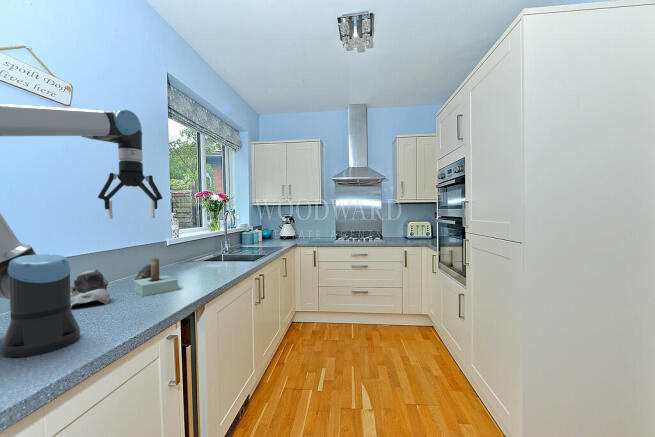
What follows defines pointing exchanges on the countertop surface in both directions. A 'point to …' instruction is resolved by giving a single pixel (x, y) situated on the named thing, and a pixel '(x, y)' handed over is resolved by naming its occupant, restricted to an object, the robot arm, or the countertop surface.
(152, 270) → the dowel
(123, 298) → the countertop surface
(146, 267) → the rock
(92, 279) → the stone
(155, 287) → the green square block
